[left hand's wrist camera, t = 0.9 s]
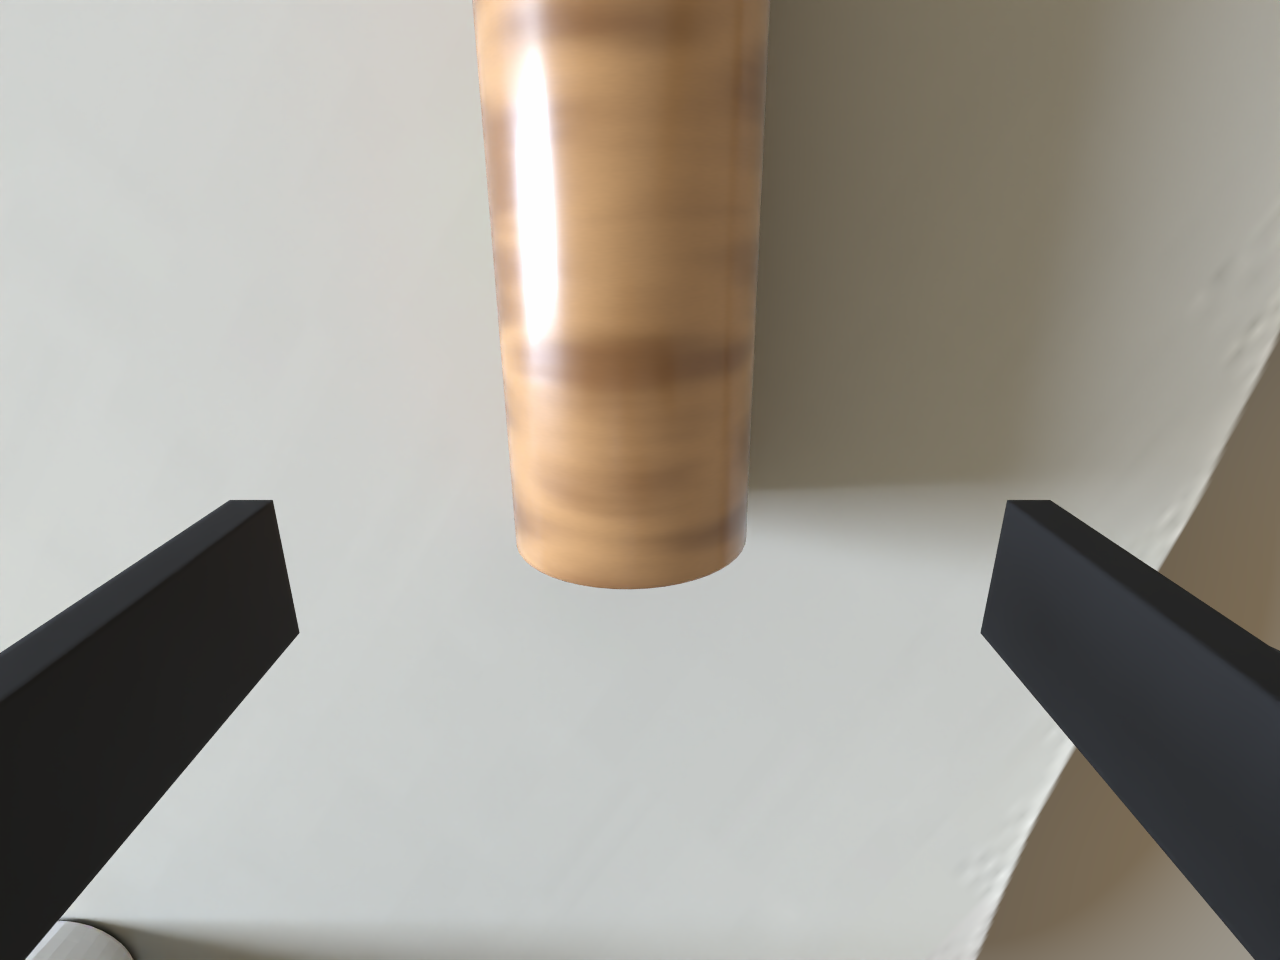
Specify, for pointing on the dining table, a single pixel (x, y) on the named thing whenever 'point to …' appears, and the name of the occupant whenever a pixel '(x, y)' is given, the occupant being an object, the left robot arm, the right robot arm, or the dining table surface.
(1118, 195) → the dining table surface
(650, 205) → the brown cylinder
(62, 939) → the coffee cup
